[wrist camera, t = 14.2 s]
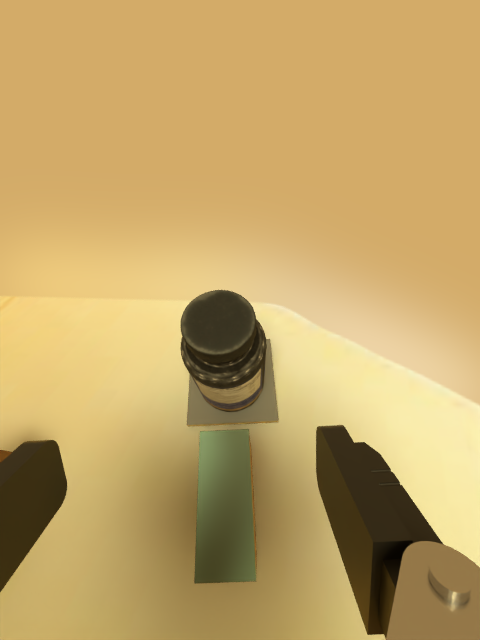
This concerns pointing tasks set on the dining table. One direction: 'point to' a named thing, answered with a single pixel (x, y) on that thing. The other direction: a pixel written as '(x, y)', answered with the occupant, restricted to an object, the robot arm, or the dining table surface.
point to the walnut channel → (223, 508)
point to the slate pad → (256, 413)
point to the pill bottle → (224, 349)
